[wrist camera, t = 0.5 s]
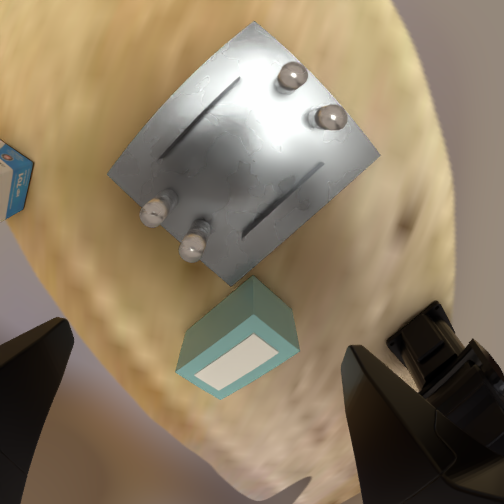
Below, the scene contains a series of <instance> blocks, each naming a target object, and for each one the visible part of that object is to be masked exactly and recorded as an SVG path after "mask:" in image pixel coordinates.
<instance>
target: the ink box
mask: <svg viewBox="0 0 504 504" xmlns="http://www.w3.org/2000/svg"><path fill="white" fill-rule="evenodd" d="M32 166H33V162H32V161H30V160H29V159H27V158H26V157H24V156H23V155H21V154H20V153H18V152H17V151H16V150H14V149H13V148H11V147H10V146H8V145H7V144H5V143H4V142H2V141H1V140H0V222H2V221H4V220H6V219H7V218H9V217H11V216H12V215H14V214H16V213H18V212H20V211H21V210H23V208H24V203H25V198H26V194H27V189H28V185H29V180H30V176H31V171H32Z"/></svg>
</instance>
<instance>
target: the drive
mask: <svg viewBox="0 0 504 504" xmlns="http://www.w3.org/2000/svg"><path fill="white" fill-rule="evenodd" d="M298 352H300V348H299V342H298V337H297V332H296V327H295V322H294V317H293V312H292V309H291V308H290V307H288V306H287V305H286V304H285V303H284V302H283V301H282V300H281V299H279V298H278V297H277V296H276V295H275V294H274V293H273V292H272V291H270V290H269V289H268V288H267V287H266V286H265V285H264V284H263V283H261V282H260V281H259V280H258V279H257V278H256V277H255V276H254V275H252V276H251V277H250V278H249V279H248V280H246V281H245V282H244V283H243V284H242V285H241V286H239V287H238V288H237V289H236V290H235V291H234V292H232V293H231V294H230V295H229V296H228V297H226V298H225V299H224V300H223V301H222V302H220V303H219V304H218V305H217V306H216V307H215V308H213V309H212V310H211V311H210V312H209V313H207V314H206V315H205V316H204V317H203V318H201V319H200V320H199V321H198V322H197V323H195V324H194V325H193V326H192V327H191V328H189V329H188V330H187V331H186V333H185V337H184V341H183V344H182V348H181V352H180V355H179V359H178V363H177V367H176V371H175V372H176V373H177V374H179V375H180V376H182V377H183V378H185V379H187V380H188V381H190V382H191V383H193V384H194V385H196V386H198V387H199V388H201V389H203V390H204V391H206V392H208V393H209V394H211V395H213V396H215V397H216V398H218V399H220V400H221V399H223V398H225V397H227V396H229V395H230V394H232V393H234V392H236V391H237V390H239V389H241V388H242V387H244V386H246V385H247V384H249V383H251V382H253V381H254V380H256V379H257V378H259V377H261V376H262V375H264V374H266V373H267V372H269V371H270V370H272V369H274V368H275V367H277V366H278V365H280V364H281V363H283V362H284V361H286V360H288V359H289V358H291V357H292V356H294V355H295V354H297V353H298Z"/></svg>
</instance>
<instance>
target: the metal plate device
mask: <svg viewBox="0 0 504 504" xmlns="http://www.w3.org/2000/svg"><path fill="white" fill-rule="evenodd" d="M380 156H381V155H380V154H379V152H378V151H377V150H376V148H375V147H374V146H373V144H372V143H371V142H370V140H369V139H368V138H367V136H366V135H365V134H364V133H363V131H362V130H361V129H360V128H359V126H358V125H357V124H356V123H355V121H354V120H353V119H352V118H351V117H350V115H349V114H348V113H347V112H346V111H345V109H344V108H343V107H342V106H341V105H340V104H339V102H338V101H337V100H336V99H335V98H334V97H333V96H332V95H331V94H330V92H329V91H328V90H327V89H326V88H325V87H324V86H323V85H322V84H321V83H320V82H319V81H318V80H317V78H316V77H315V76H314V75H313V74H312V73H311V72H310V71H309V70H308V69H307V68H306V67H305V66H304V65H303V64H302V63H301V62H300V61H299V60H298V59H297V58H296V57H295V56H293V55H292V54H291V53H290V52H289V51H288V50H287V49H286V48H285V47H284V46H283V45H282V44H281V43H279V42H278V41H277V40H276V39H275V38H274V37H273V36H272V35H270V34H269V33H268V32H267V31H266V30H265V29H263V28H262V27H261V26H260V25H259V24H257V23H256V22H255V21H253V22H252V23H251V24H250V25H248V26H247V27H246V28H245V29H243V30H242V31H241V32H240V33H238V34H237V35H236V36H235V37H233V38H232V39H231V40H230V41H229V42H227V43H226V44H225V45H224V46H223V47H222V48H220V49H219V50H218V51H217V52H216V53H215V54H214V55H213V56H211V57H210V58H209V59H208V60H207V61H206V62H205V63H204V64H203V65H202V66H201V67H200V68H199V69H198V70H196V71H195V72H194V73H193V74H192V75H191V76H190V77H189V78H188V79H187V80H186V81H185V82H184V83H183V84H182V85H181V86H180V87H179V88H178V89H177V90H176V91H175V93H174V94H173V95H172V96H171V97H170V98H169V99H168V100H167V101H166V102H165V103H164V104H163V105H162V106H161V108H160V109H159V110H158V111H157V112H156V113H155V114H154V115H153V117H152V118H151V119H150V120H149V121H148V122H147V124H146V125H145V126H144V127H143V128H142V129H141V131H140V132H139V133H138V134H137V135H136V137H135V138H134V139H133V140H132V142H131V143H130V144H129V145H128V147H127V148H126V149H125V151H124V152H123V153H122V154H121V156H120V157H119V158H118V160H117V161H116V162H115V164H114V165H113V166H112V168H111V169H110V171H109V172H108V173H107V175H108V176H109V177H110V178H111V179H112V180H113V181H114V182H115V183H116V184H117V185H118V186H119V187H120V188H121V189H123V190H124V191H125V192H126V193H127V194H128V195H129V196H130V197H131V198H132V199H133V200H134V201H135V202H136V203H137V204H139V205H140V206H141V207H142V208H141V210H140V219H141V221H142V223H143V224H144V225H145V226H147V227H150V228H155V227H157V226H159V225H161V226H162V227H164V228H165V229H166V230H167V231H168V232H169V233H170V234H171V235H172V236H174V237H175V238H176V239H177V240H178V241H179V242H180V243H181V244H180V246H179V254H180V256H181V258H182V259H183V260H185V261H187V262H190V263H194V262H197V261H199V260H201V261H202V262H203V263H204V264H205V265H206V266H208V267H209V268H210V269H211V270H212V271H213V272H214V273H216V274H217V275H218V276H219V277H220V278H221V279H223V280H224V281H225V282H226V283H227V284H228V285H230V286H233V285H234V284H235V283H236V282H237V281H238V280H240V279H241V278H242V277H243V276H244V275H245V274H247V273H248V272H249V271H250V270H251V269H252V268H253V267H255V266H256V265H257V264H258V263H259V262H260V261H262V260H263V259H264V258H265V257H266V256H267V255H268V254H270V253H271V252H272V251H273V250H274V249H275V248H277V247H278V246H279V245H280V244H281V243H282V242H283V241H285V240H286V239H287V238H288V237H289V236H290V235H291V234H293V233H294V232H295V231H296V230H297V229H298V228H299V227H301V226H302V225H303V224H304V223H305V222H306V221H307V220H309V219H310V218H311V217H312V216H313V215H314V214H315V213H317V212H318V211H319V210H320V209H321V208H322V207H323V206H325V205H326V204H327V203H328V202H329V201H330V200H331V199H332V198H334V197H335V196H336V195H337V194H338V193H339V192H340V191H341V190H343V189H344V188H345V187H346V186H347V185H348V184H349V183H350V182H352V181H353V180H354V179H355V178H356V177H357V176H358V175H359V174H361V173H362V172H363V171H364V170H365V169H366V168H367V167H368V166H370V165H371V164H372V163H373V162H374V161H375V160H376V159H377V158H378V157H380Z"/></svg>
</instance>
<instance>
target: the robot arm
mask: <svg viewBox="0 0 504 504" xmlns="http://www.w3.org/2000/svg"><path fill="white" fill-rule="evenodd" d="M386 344H387V346H388V348H389V349H390V350H391V351H392V352H393V353H394V354H395V356H396V357H397V358H398V359H399V360H400V361H401V362H402V363H403V364H404V366H405V367H406V368H407V369H408V370H409V372H410V374H411V376H412V378H413V380H414V382H415V384H416V386H417V388H418V390H419V392H418V393H417V392H416V391H415V390H414V389H412V388H411V387H410V386H409V385H408V384H407V383H405V382H404V381H403V380H402V379H401V378H400V377H399V376H397V375H396V374H395V373H394V372H393V371H392V370H390V369H389V368H388V367H387V366H386V365H385V364H383V363H382V362H381V361H380V360H379V359H378V358H376V357H375V356H374V355H373V354H372V353H371V352H369V351H368V350H367V349H366V348H365V347H364V346H362V345H350V346H348V348H347V350H346V353H345V356H344V359H343V361H342V365H341V375H342V384H343V394H344V404H345V412H346V418H347V422H348V427H349V432H350V436H351V441H352V446H353V451H354V456H355V461H356V466H357V472H358V477H359V482H360V488H361V493H362V500H363V504H504V374H503V372H502V370H501V368H500V367H499V365H498V364H497V363H496V361H494V359H493V357H492V356H491V355H490V354H489V353H488V352H487V351H486V350H485V349H484V348H483V347H482V346H481V345H480V344H479V343H478V342H477V341H476V340H474V339H472V340H471V341H470V342H469V344H468V345H467V347H466V348H465V347H464V346H463V344H462V343H461V341H460V340H459V339H458V337H457V336H456V335H455V331H454V329H453V327H452V325H451V323H450V321H449V319H448V317H447V315H446V314H445V312H444V310H443V308H442V306H441V304H440V303H439V302H438V301H436V302H434V303H433V304H431V305H430V306H429V307H428V308H427V309H426V310H424V311H423V312H422V313H421V314H420V315H418V316H417V317H416V318H415V319H414V320H412V321H411V322H410V323H409V324H407V325H406V326H405V327H404V328H402V329H401V330H400V331H398V332H397V333H396V334H395V335H393V336H392V337H391V338H389V339H388V340H387V342H386ZM73 345H74V337H73V334H72V331H71V328H70V325H69V322H68V321H67V319H65V318H60V317H56V318H53V319H51V320H49V321H47V322H45V323H43V324H41V325H40V326H37V327H35V328H33V329H31V330H29V331H27V332H25V333H23V334H21V335H19V336H18V337H16V338H13V339H11V340H10V341H8V342H6V343H4V344H2V345H0V504H20V503H21V499H22V495H23V491H24V487H25V482H26V478H27V474H28V471H29V468H30V465H31V461H32V458H33V455H34V452H35V449H36V446H37V443H38V440H39V437H40V434H41V431H42V428H43V425H44V423H45V420H46V417H47V415H48V412H49V410H50V407H51V404H52V402H53V400H54V397H55V395H56V392H57V390H58V388H59V385H60V383H61V380H62V377H63V374H64V371H65V368H66V365H67V362H68V359H69V356H70V354H71V350H72V348H73Z"/></svg>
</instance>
